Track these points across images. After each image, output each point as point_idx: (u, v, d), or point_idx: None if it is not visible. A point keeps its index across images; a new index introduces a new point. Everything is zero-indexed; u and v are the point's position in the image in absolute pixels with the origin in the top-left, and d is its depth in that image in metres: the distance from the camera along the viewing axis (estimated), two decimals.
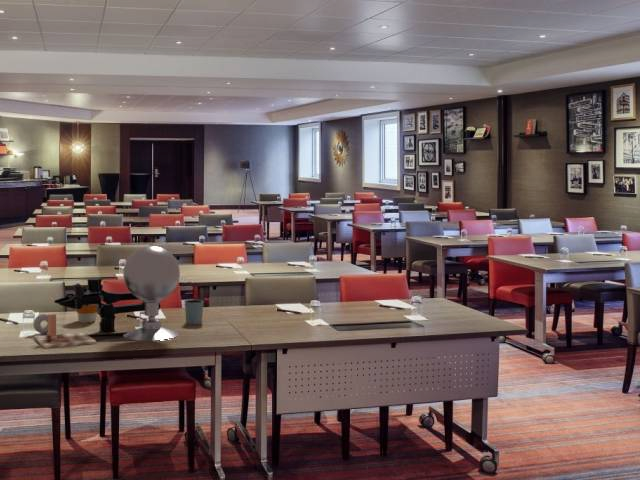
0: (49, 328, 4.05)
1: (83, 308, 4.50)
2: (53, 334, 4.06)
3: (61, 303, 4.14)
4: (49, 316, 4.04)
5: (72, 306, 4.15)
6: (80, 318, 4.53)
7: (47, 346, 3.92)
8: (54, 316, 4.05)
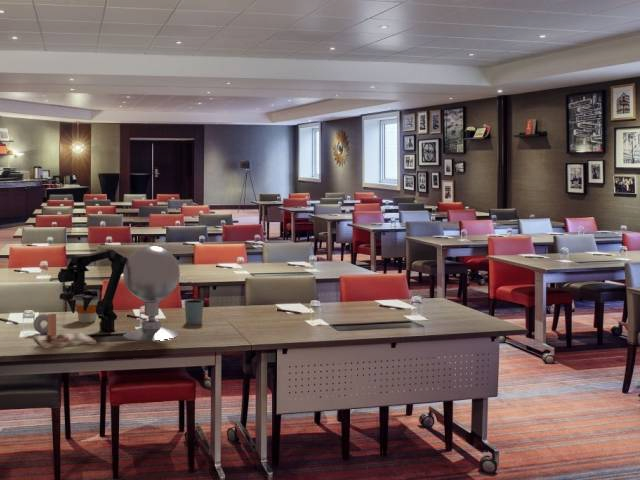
0: (49, 328, 4.05)
1: None
2: (53, 334, 4.06)
3: (72, 311, 4.15)
4: (49, 316, 4.04)
5: (72, 302, 4.12)
6: (80, 318, 4.53)
7: (47, 346, 3.92)
8: (54, 316, 4.05)
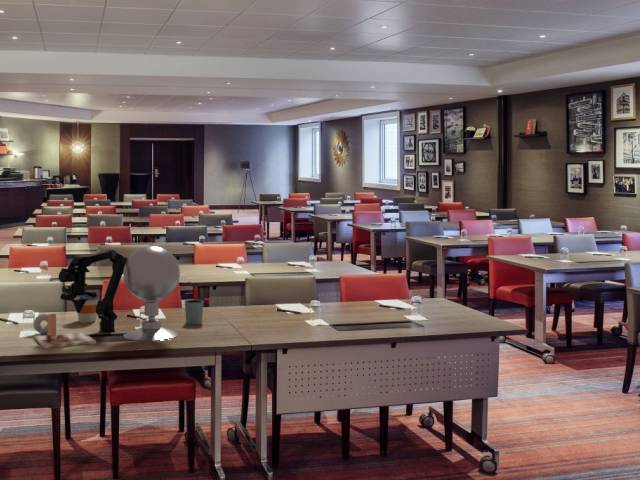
0: (49, 328, 4.05)
1: (83, 308, 4.50)
2: (53, 334, 4.06)
3: (77, 311, 4.17)
4: (49, 316, 4.04)
5: (77, 301, 4.14)
6: (80, 318, 4.53)
7: (47, 346, 3.92)
8: (54, 316, 4.05)
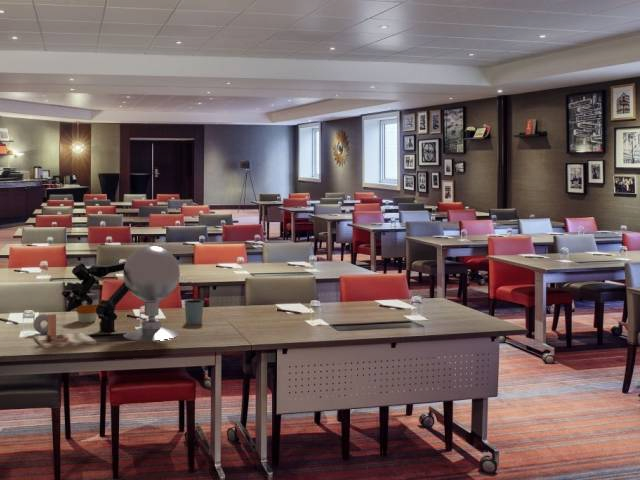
0: (49, 328, 4.05)
1: (83, 308, 4.50)
2: (53, 334, 4.06)
3: (68, 309, 4.12)
4: (49, 316, 4.04)
5: (78, 304, 4.15)
6: (80, 318, 4.53)
7: (47, 346, 3.92)
8: (54, 316, 4.05)
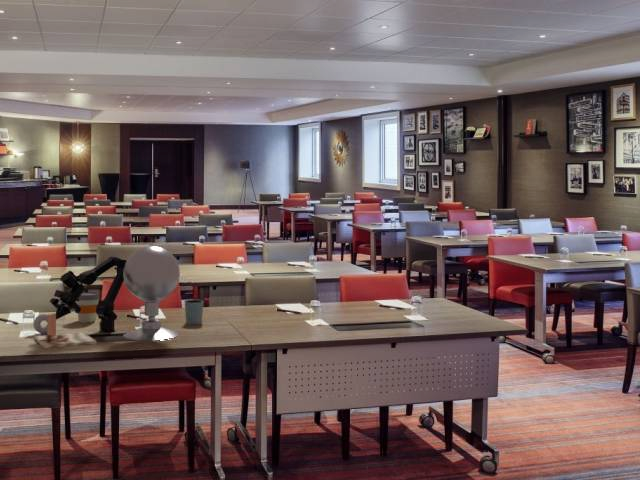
0: (49, 328, 4.05)
1: (83, 308, 4.50)
2: (53, 334, 4.06)
3: (56, 317, 4.07)
4: (49, 316, 4.04)
5: (67, 312, 4.10)
6: (80, 318, 4.53)
7: (47, 346, 3.92)
8: (54, 316, 4.05)
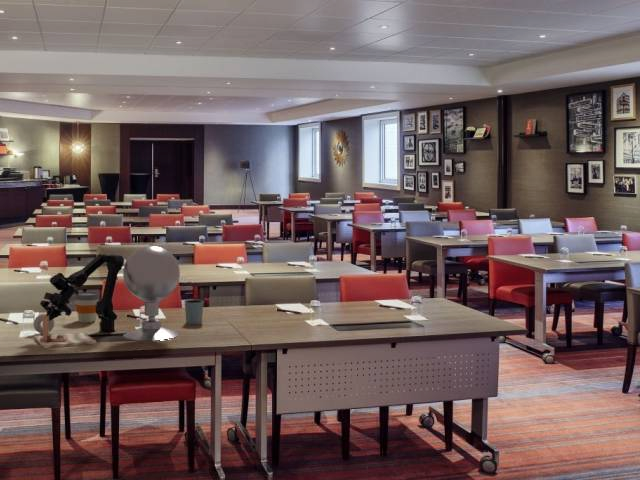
0: (45, 330, 4.00)
1: (83, 308, 4.50)
2: None
3: None
4: (45, 318, 3.99)
5: (57, 315, 4.05)
6: (80, 318, 4.53)
7: (47, 346, 3.92)
8: (48, 317, 4.01)
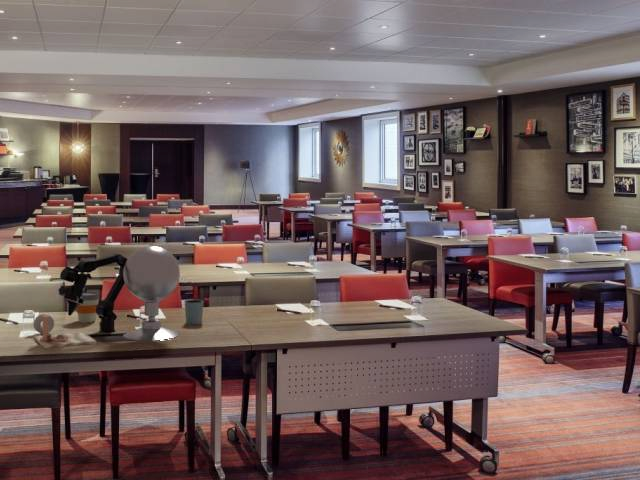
0: (45, 330, 4.00)
1: (83, 308, 4.50)
2: None
3: (69, 313, 4.15)
4: (45, 318, 3.99)
5: (75, 304, 4.14)
6: (80, 318, 4.53)
7: (47, 346, 3.92)
8: (48, 317, 4.01)
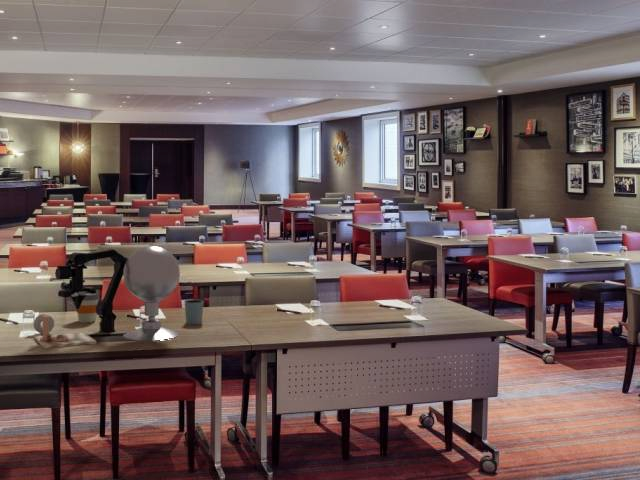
0: (45, 330, 4.00)
1: (83, 308, 4.50)
2: None
3: (76, 307, 4.20)
4: (45, 318, 3.99)
5: (75, 298, 4.17)
6: (80, 318, 4.53)
7: (47, 346, 3.92)
8: (48, 317, 4.01)
